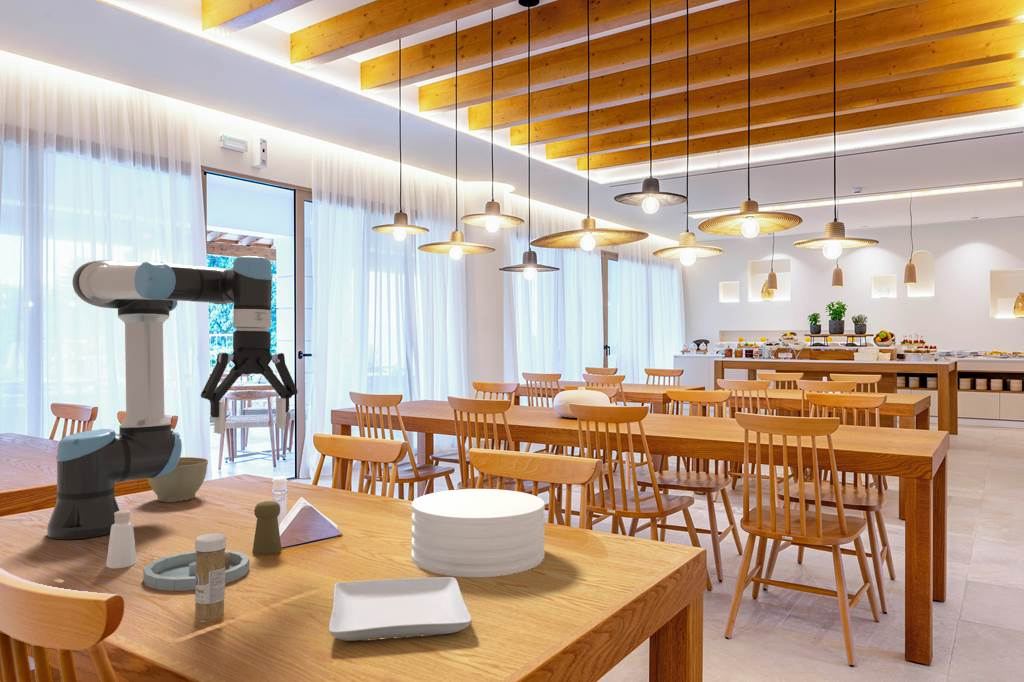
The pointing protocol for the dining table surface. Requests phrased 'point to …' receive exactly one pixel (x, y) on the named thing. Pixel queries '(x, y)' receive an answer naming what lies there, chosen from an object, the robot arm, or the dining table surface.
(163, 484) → the planter bowl
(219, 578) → the sprinkles bottle
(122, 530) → the pepper shaker
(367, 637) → the salad plate
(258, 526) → the pepper shaker
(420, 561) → the plate stack
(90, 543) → the dining table surface
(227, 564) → the bead walnut
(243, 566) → the groove tray
